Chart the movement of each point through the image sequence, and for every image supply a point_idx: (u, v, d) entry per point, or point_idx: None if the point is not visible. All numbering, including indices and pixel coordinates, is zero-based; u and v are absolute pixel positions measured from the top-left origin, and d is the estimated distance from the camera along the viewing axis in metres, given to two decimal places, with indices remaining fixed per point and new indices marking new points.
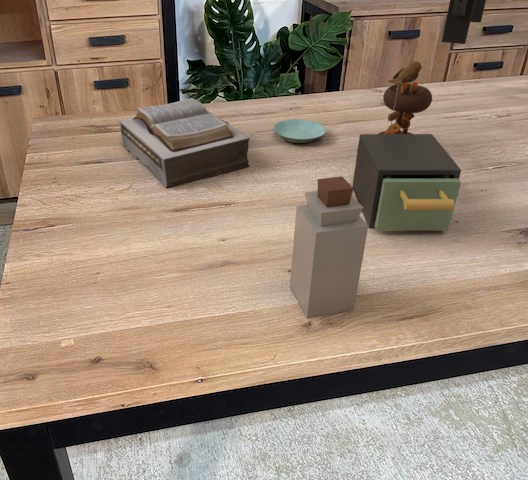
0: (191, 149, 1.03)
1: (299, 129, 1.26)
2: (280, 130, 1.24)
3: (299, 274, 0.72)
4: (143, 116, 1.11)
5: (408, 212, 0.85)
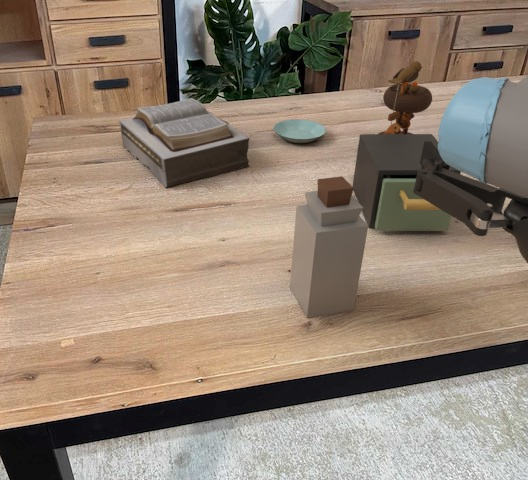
0: (191, 149, 1.03)
1: (299, 129, 1.26)
2: (280, 130, 1.24)
3: (299, 274, 0.72)
4: (143, 116, 1.11)
5: (408, 212, 0.85)
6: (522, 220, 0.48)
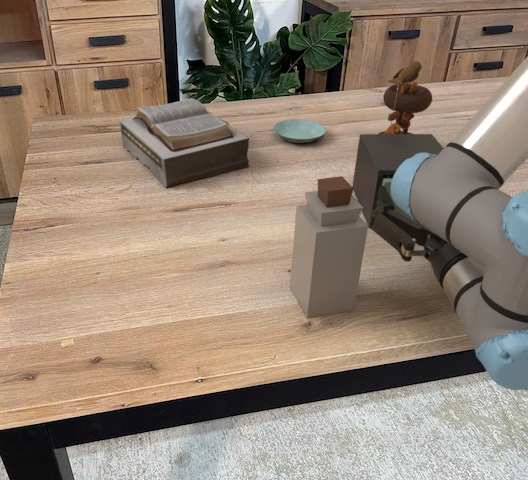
0: (191, 149, 1.03)
1: (299, 129, 1.26)
2: (280, 130, 1.24)
3: (299, 274, 0.72)
4: (143, 116, 1.11)
5: None
6: (434, 252, 0.68)
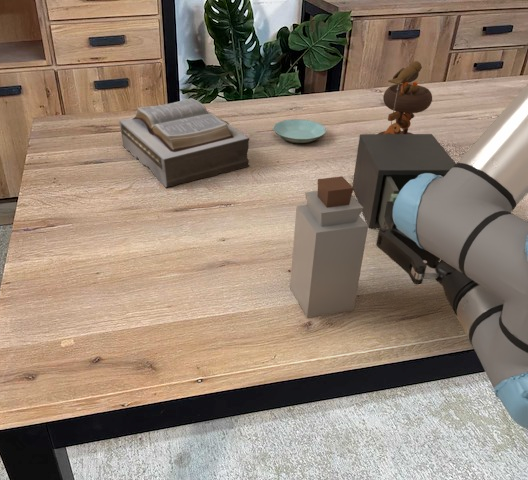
0: (191, 149, 1.03)
1: (299, 129, 1.26)
2: (280, 130, 1.24)
3: (299, 274, 0.72)
4: (143, 116, 1.11)
5: None
6: (447, 275, 0.64)
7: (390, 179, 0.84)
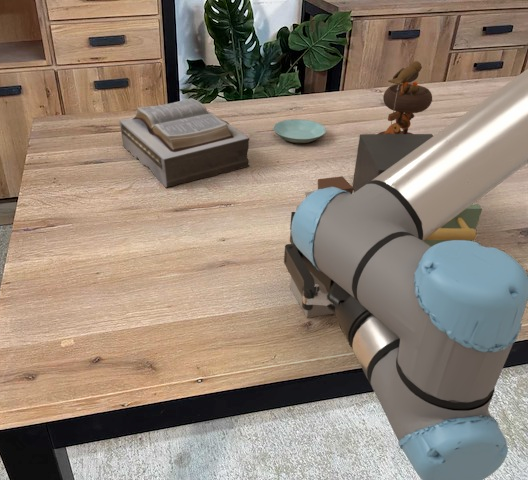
0: (191, 149, 1.03)
1: (299, 129, 1.26)
2: (280, 130, 1.24)
3: None
4: (143, 116, 1.11)
5: (424, 241, 0.79)
6: (339, 304, 0.57)
7: None
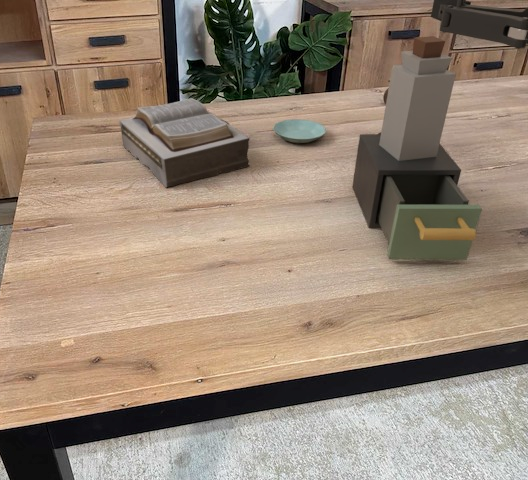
0: (191, 148, 1.03)
1: (299, 129, 1.26)
2: (280, 130, 1.24)
3: (391, 126, 0.87)
4: (143, 116, 1.11)
5: (424, 241, 0.79)
6: None
7: (395, 189, 0.81)
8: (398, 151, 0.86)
